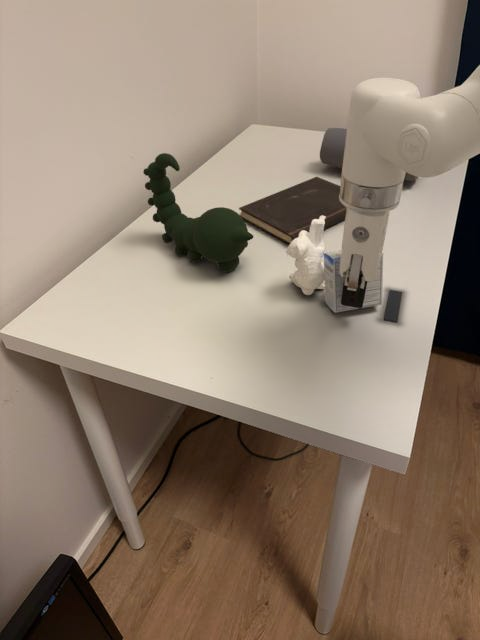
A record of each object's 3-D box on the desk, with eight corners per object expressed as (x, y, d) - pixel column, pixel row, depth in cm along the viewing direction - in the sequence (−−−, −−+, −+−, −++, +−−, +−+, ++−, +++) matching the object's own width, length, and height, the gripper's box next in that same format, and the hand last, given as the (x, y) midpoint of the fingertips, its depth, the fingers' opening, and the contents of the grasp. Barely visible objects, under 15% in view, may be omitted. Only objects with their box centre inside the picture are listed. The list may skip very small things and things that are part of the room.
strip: (402, 292, 80) (402, 291, 79) (397, 322, 74) (397, 321, 74) (389, 290, 80) (390, 289, 80) (383, 320, 74) (383, 319, 74)
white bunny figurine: (306, 269, 86) (309, 207, 78) (339, 282, 82) (346, 219, 75) (277, 292, 81) (278, 228, 73) (311, 307, 78) (316, 241, 70)
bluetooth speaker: (422, 177, 114) (431, 134, 108) (410, 192, 108) (419, 147, 102) (332, 160, 124) (336, 120, 118) (317, 173, 118) (320, 132, 112)
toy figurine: (147, 253, 95) (238, 293, 80) (124, 157, 84) (224, 182, 69) (183, 235, 100) (275, 269, 85) (166, 142, 89) (267, 162, 74)
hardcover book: (239, 217, 102) (238, 207, 100) (316, 185, 113) (316, 176, 111) (291, 246, 92) (292, 236, 91) (370, 208, 103) (372, 198, 101)
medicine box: (370, 296, 79) (370, 244, 76) (383, 305, 75) (384, 251, 72) (324, 304, 78) (322, 252, 75) (334, 313, 74) (333, 259, 71)
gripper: (395, 221, 54) (370, 341, 66) (406, 168, 65) (383, 280, 77) (329, 212, 56) (316, 330, 68) (350, 162, 67) (336, 272, 79)
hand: (352, 303), depth 72 cm, fingers closed
